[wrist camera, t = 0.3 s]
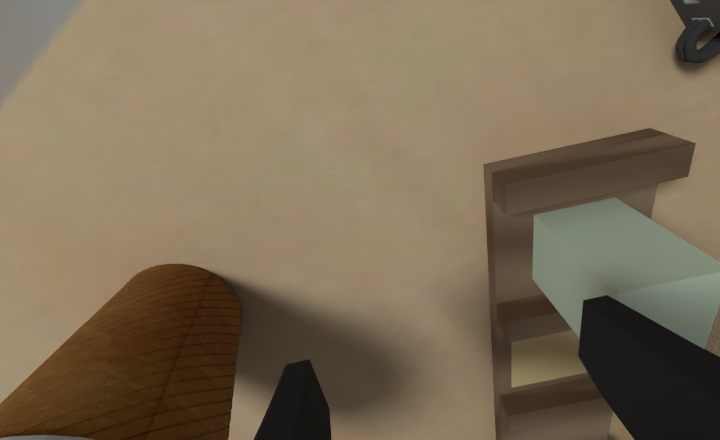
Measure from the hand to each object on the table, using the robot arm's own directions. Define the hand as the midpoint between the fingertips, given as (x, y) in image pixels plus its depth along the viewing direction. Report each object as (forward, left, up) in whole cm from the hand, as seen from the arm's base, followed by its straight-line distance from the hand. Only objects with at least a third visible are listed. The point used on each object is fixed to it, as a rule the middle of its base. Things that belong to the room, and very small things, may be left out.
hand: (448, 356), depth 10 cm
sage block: (-4, -9, -9) cm, 13 cm away
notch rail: (-12, -9, -10) cm, 18 cm away
